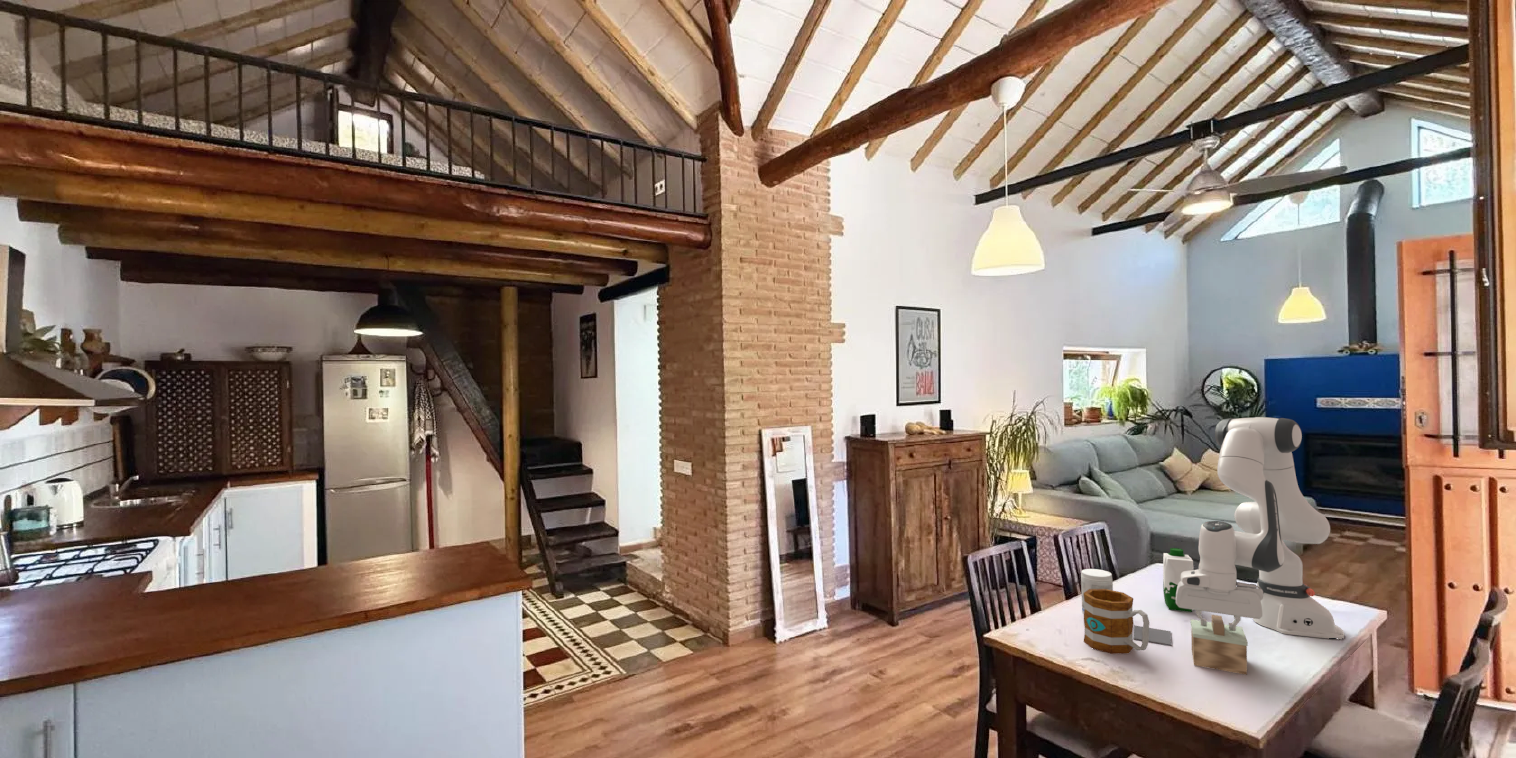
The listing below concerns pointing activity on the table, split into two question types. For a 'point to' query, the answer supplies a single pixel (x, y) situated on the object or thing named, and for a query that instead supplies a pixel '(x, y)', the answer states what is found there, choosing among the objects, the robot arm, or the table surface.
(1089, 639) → the mug
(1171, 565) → the milk carton
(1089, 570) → the supplement tub
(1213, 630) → the lid
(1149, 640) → the mat
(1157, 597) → the table surface
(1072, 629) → the table surface
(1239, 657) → the crate
